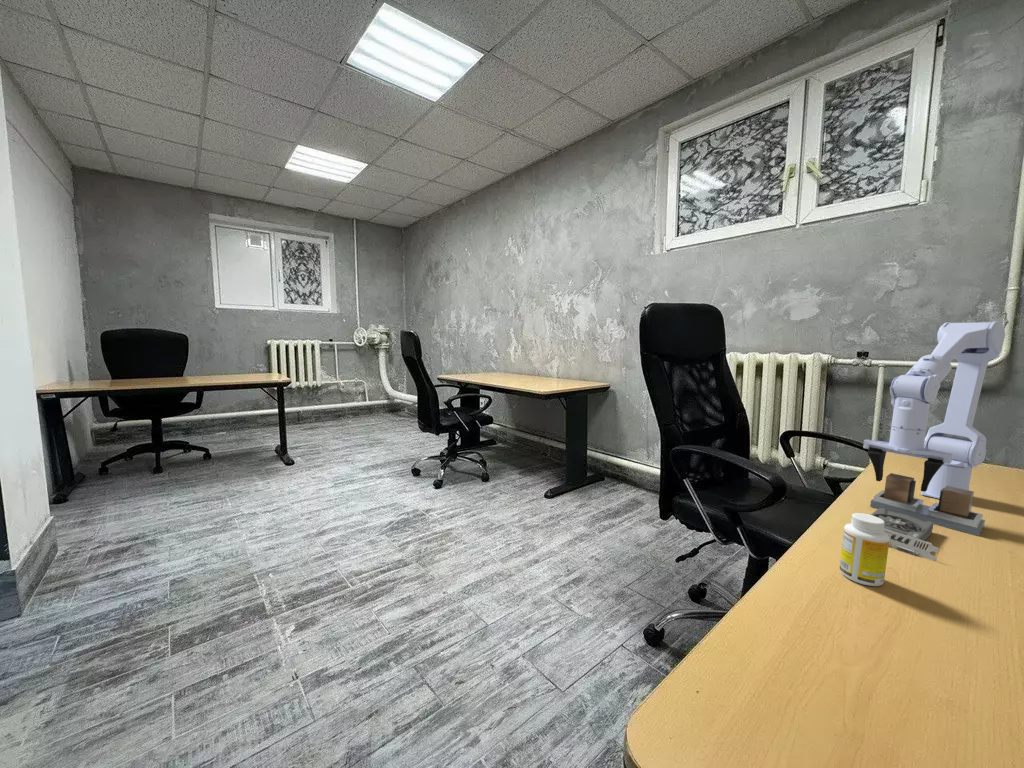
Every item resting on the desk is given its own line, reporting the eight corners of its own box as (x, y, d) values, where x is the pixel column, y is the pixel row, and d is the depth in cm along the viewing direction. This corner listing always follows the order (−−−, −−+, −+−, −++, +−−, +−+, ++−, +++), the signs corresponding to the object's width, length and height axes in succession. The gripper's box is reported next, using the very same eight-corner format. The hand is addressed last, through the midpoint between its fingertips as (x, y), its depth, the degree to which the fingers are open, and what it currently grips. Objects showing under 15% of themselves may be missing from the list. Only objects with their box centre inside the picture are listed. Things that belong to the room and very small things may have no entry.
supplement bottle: (890, 582, 65) (899, 522, 64) (872, 591, 63) (881, 528, 61) (849, 565, 70) (856, 508, 69) (831, 572, 68) (838, 513, 66)
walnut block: (883, 500, 95) (886, 476, 94) (887, 497, 97) (891, 473, 97) (908, 507, 92) (912, 481, 91) (913, 503, 94) (916, 478, 93)
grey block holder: (879, 499, 100) (883, 470, 99) (984, 526, 86) (989, 492, 86) (870, 506, 96) (874, 476, 95) (978, 536, 82) (984, 500, 81)
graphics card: (937, 547, 71) (851, 520, 81) (933, 567, 71) (848, 537, 81) (955, 524, 81) (877, 502, 90) (952, 542, 81) (874, 518, 91)
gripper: (862, 423, 96) (855, 479, 98) (951, 436, 84) (942, 499, 86) (871, 420, 100) (864, 473, 102) (957, 432, 88) (948, 492, 90)
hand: (900, 485), depth 94 cm, fingers open, 7 cm apart
